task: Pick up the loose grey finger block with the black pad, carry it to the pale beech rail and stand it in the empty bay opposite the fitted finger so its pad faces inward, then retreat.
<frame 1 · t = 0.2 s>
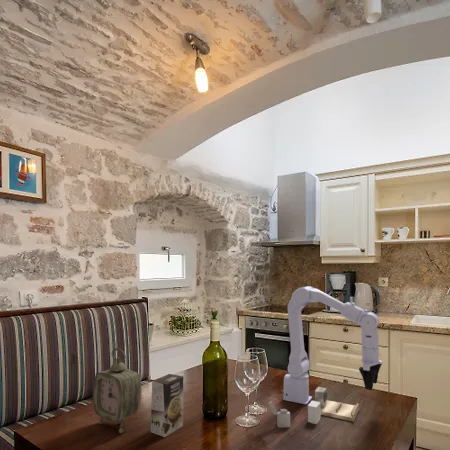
hand: (371, 386, 130), 10 cm above the table, fingers open, 7 cm apart
lighter: (279, 426, 121), on the table
tabletop clock: (117, 426, 121), on the table
rail: (336, 411, 132), on the table
finger: (314, 420, 125), on the table
coffee box: (167, 430, 118), on the table
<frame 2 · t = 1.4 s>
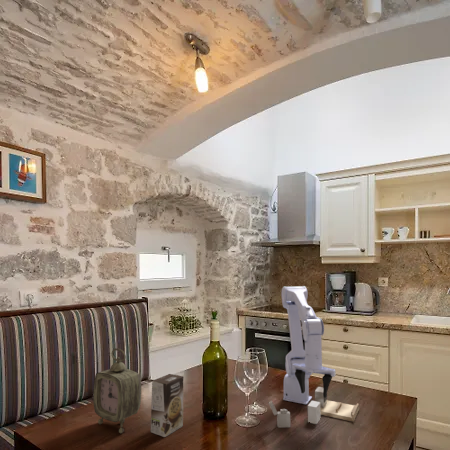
hand: (314, 394, 126), 9 cm above the table, fingers open, 7 cm apart
nothing on the table moved.
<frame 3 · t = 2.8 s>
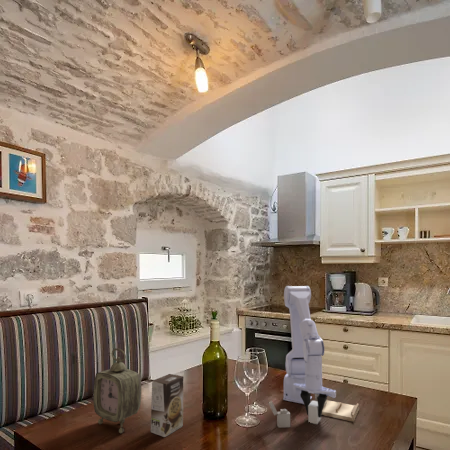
hand: (314, 415, 125), 2 cm above the table, fingers closed on finger, 3 cm apart
finger: (314, 420, 125), on the table, touching gripper
everything else where it was.
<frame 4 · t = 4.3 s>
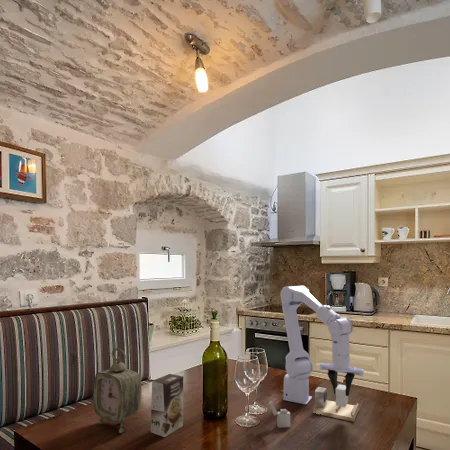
hand: (341, 394, 125), 9 cm above the table, fingers closed on finger, 3 cm apart
finger: (342, 403, 125), point 6 cm above the table, touching gripper
everything else where it was.
when the fingers open (4 cm above the table, at t = 6.0 s): finger stays where it is, resting on rail.
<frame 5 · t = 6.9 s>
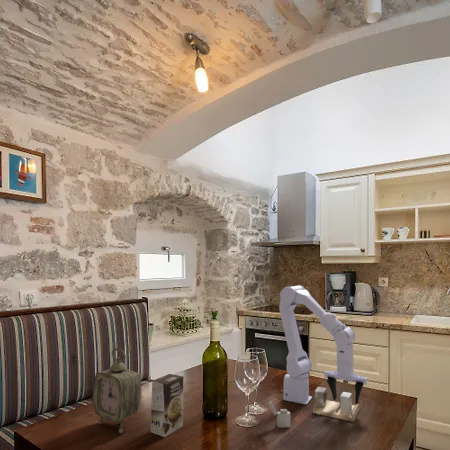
hand: (345, 401, 131), 4 cm above the table, fingers open, 7 cm apart
finger: (346, 410, 130), point 1 cm above the table, touching rail
everything else where it was.
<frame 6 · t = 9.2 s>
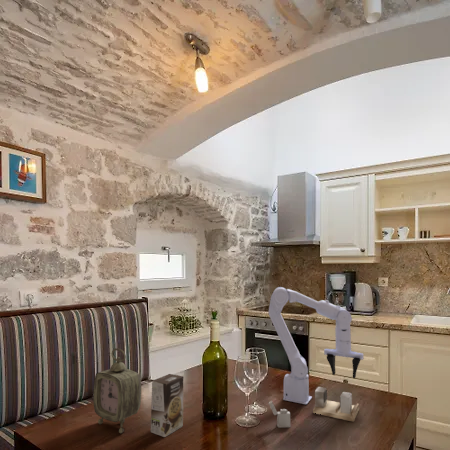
hand: (343, 375, 141), 10 cm above the table, fingers open, 7 cm apart
nothing on the table moved.
at the end: finger 0.5 cm from the target spot on the rail, point 1.2 cm above the rail's base; finger tilted 0°; the gripper is holding nothing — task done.
